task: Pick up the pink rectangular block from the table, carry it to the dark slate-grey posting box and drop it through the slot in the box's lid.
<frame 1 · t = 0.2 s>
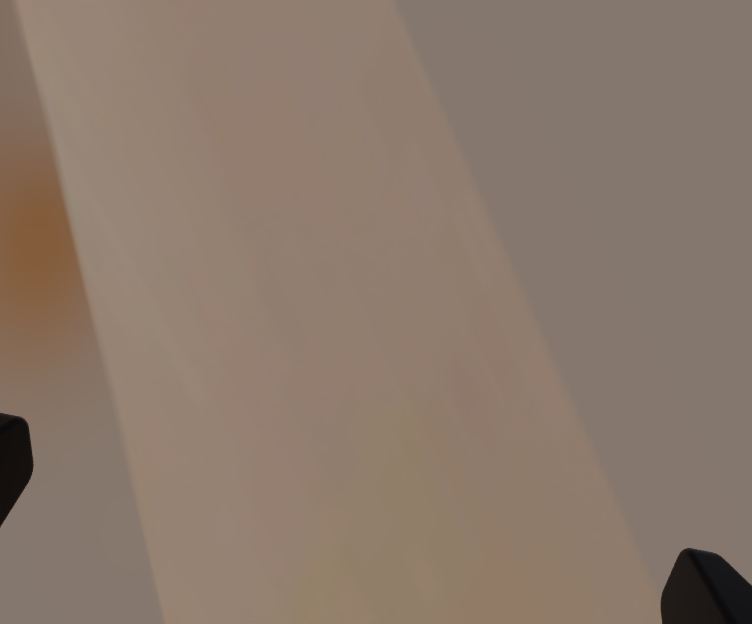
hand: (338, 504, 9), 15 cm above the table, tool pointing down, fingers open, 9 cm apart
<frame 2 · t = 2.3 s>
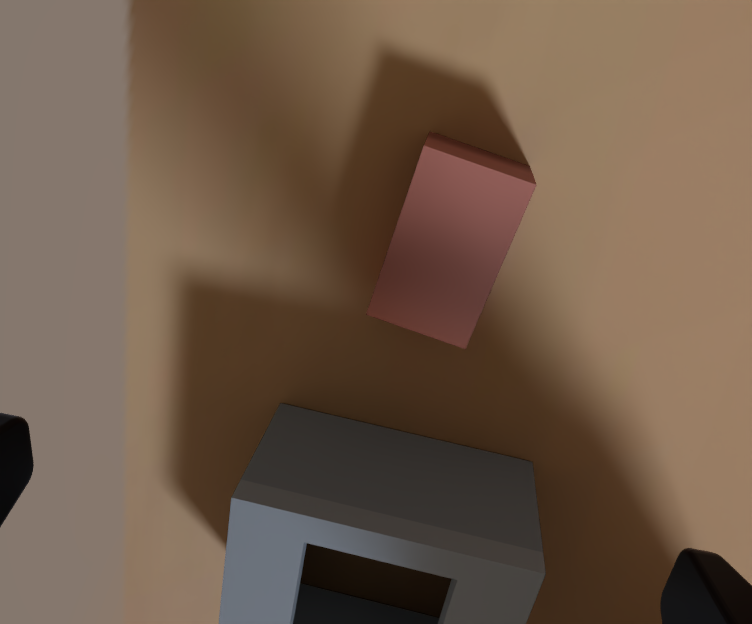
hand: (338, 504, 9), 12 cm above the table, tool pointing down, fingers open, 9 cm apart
posting box: (382, 527, 24), on the table
pink rectangular block: (449, 226, 20), on the table
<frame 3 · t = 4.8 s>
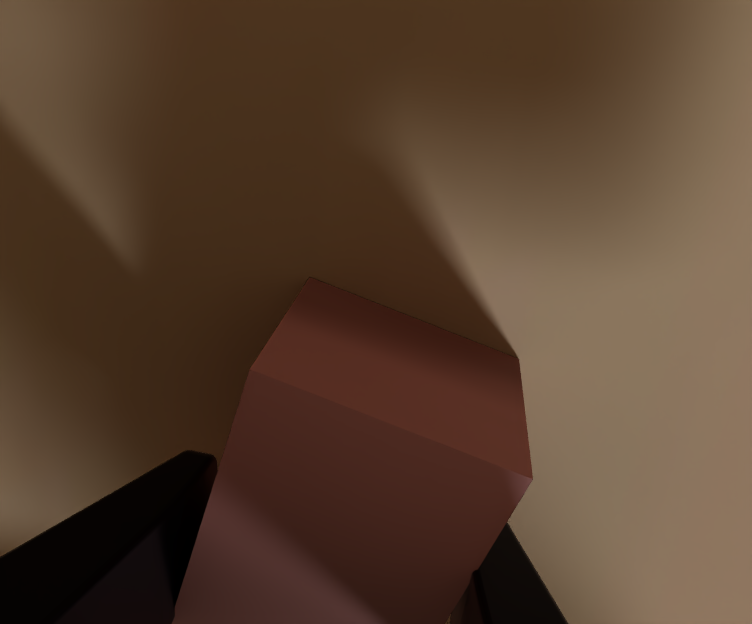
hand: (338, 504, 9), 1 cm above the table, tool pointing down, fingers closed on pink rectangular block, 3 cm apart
pink rectangular block: (354, 456, 10), on the table, touching gripper
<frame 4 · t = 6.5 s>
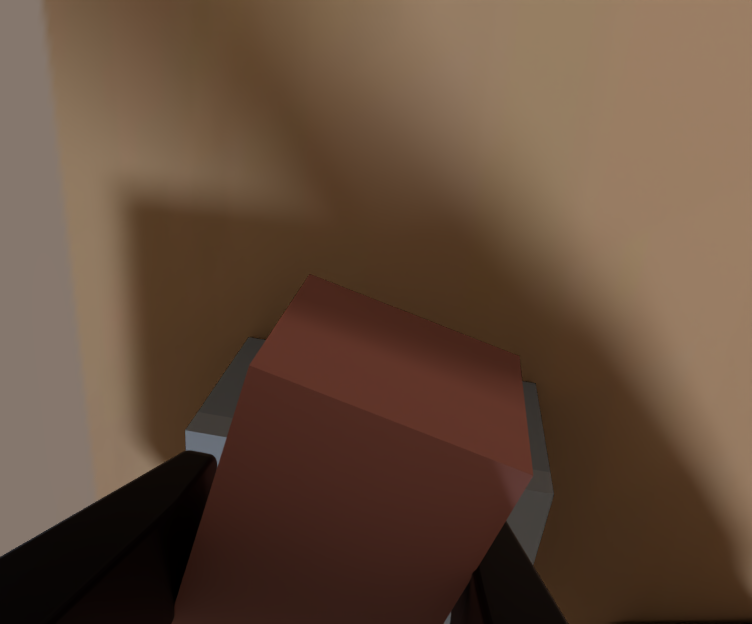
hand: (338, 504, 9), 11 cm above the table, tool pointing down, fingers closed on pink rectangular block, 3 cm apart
posting box: (374, 473, 22), on the table
pink rectangular block: (354, 454, 10), point 10 cm above the table, touching gripper
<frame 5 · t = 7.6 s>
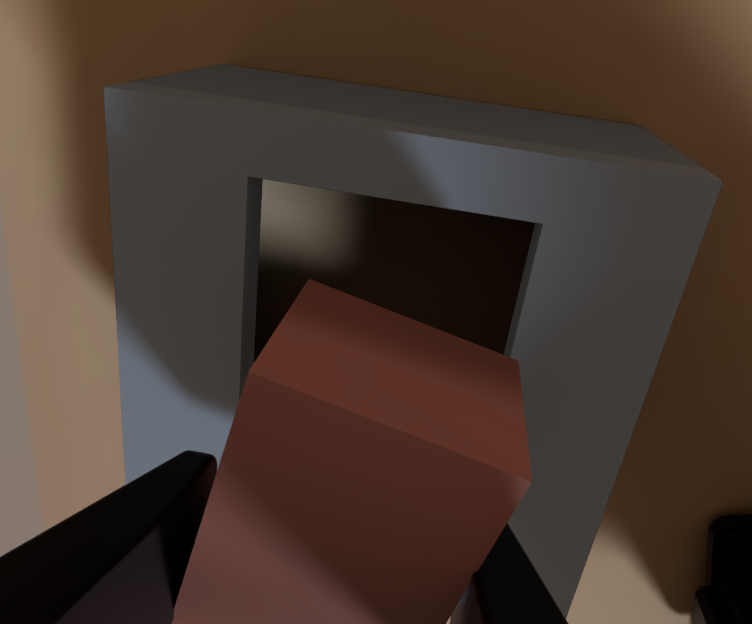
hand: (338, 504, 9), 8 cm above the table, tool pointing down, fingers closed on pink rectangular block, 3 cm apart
posting box: (397, 286, 16), on the table
pink rectangular block: (354, 458, 10), point 7 cm above the table, touching gripper
when the fingers open (7 cm above the table, at t = 8.3 s): pink rectangular block drops 7 cm, resting in posting box.
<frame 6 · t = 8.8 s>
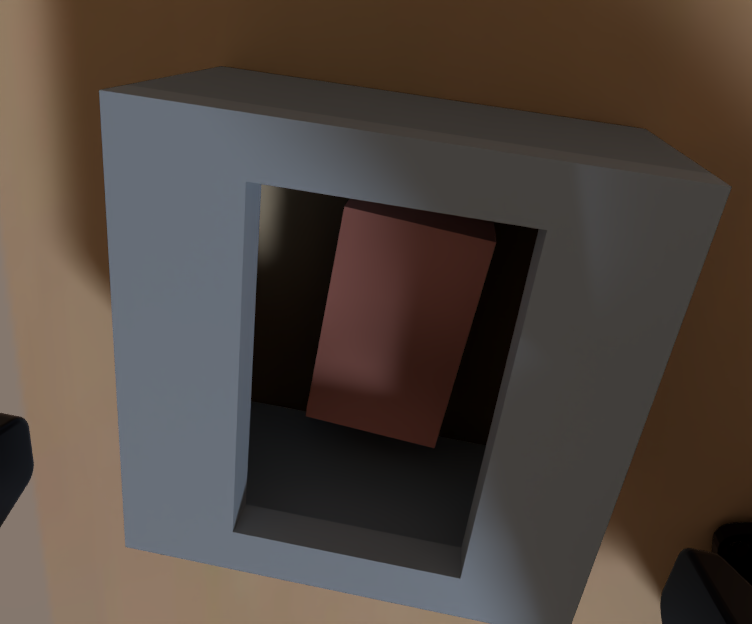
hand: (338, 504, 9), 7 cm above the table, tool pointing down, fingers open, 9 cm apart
posting box: (398, 291, 16), on the table
pink rectangular block: (404, 290, 16), resting in posting box
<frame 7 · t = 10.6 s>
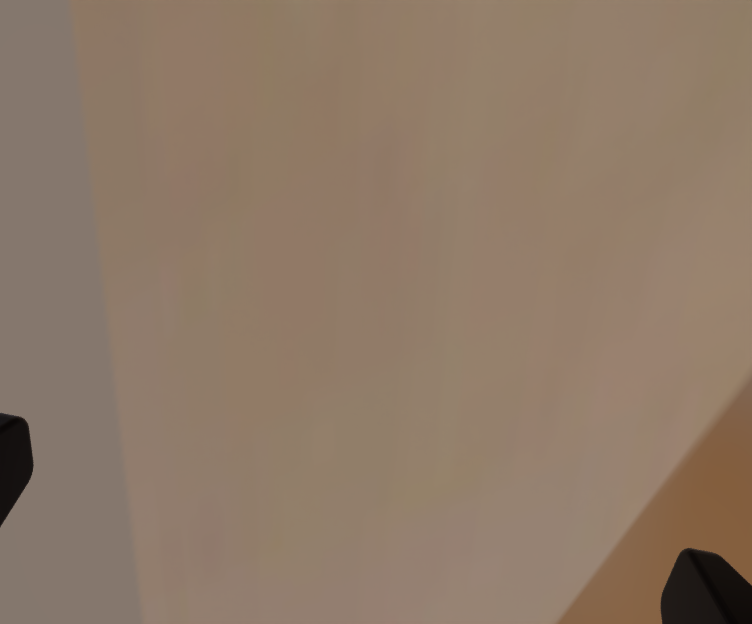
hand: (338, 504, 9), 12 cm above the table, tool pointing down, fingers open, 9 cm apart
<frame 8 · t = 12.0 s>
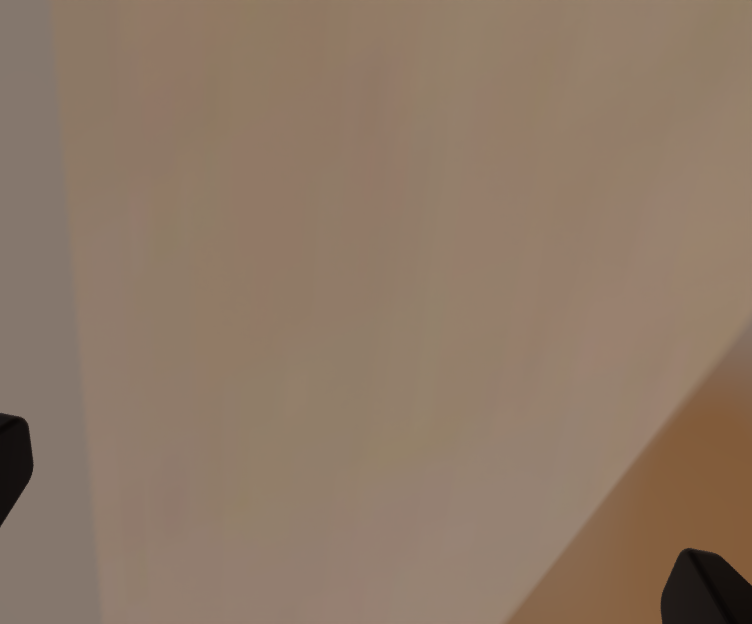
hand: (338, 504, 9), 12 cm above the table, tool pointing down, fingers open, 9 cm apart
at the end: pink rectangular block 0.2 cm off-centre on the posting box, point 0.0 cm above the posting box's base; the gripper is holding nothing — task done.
